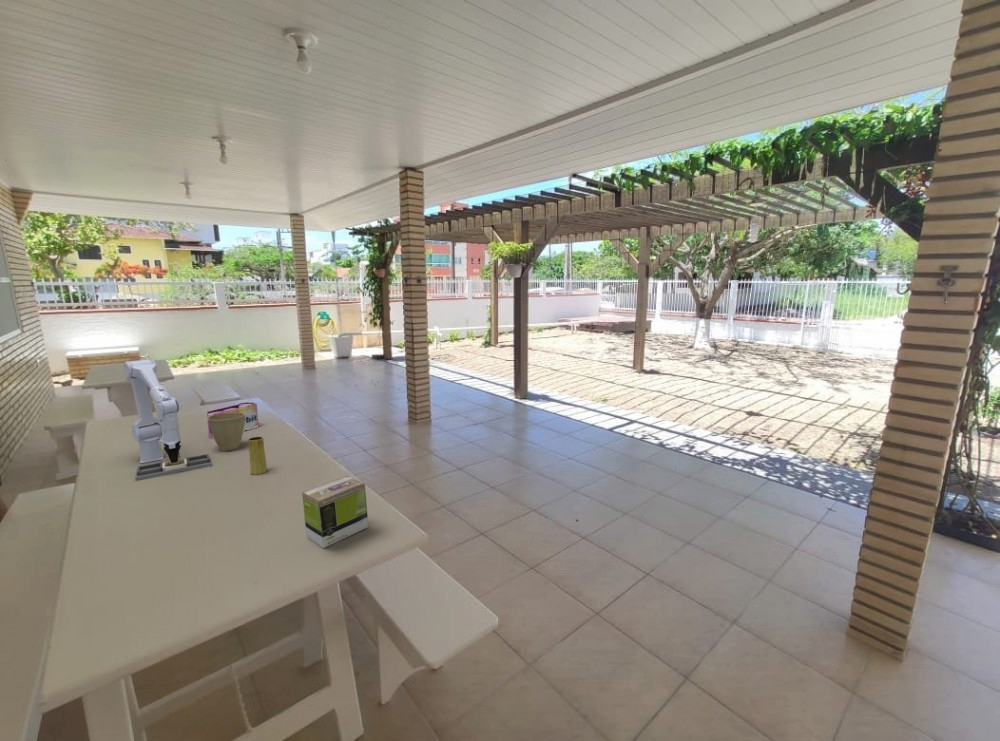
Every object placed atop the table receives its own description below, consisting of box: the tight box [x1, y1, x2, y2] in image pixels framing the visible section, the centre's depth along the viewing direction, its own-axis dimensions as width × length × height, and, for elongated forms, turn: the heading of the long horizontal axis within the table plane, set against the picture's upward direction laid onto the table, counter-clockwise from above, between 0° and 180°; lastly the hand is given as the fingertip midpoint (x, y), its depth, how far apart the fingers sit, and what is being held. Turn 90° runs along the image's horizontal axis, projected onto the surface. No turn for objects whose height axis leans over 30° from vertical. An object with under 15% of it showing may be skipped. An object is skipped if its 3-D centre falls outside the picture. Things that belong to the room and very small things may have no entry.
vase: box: [247, 436, 268, 476], centre depth 176 cm, size 6×6×14 cm
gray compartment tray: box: [135, 453, 213, 481], centre depth 180 cm, size 11×25×3 cm, turn 127°
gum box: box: [206, 402, 260, 438], centre depth 229 cm, size 24×8×14 cm, turn 156°
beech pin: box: [165, 451, 182, 466], centre depth 180 cm, size 4×4×6 cm
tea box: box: [302, 475, 369, 549], centre depth 130 cm, size 15×10×15 cm, turn 141°
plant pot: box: [207, 412, 245, 452], centre depth 204 cm, size 15×15×16 cm
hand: (174, 460), depth 180 cm, fingers closed on beech pin, 4 cm apart
